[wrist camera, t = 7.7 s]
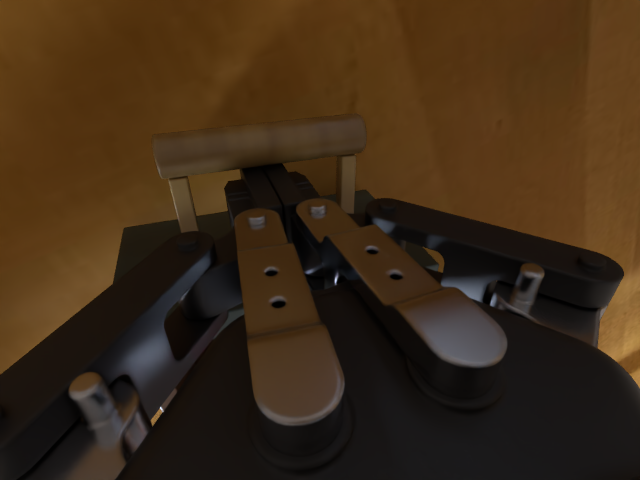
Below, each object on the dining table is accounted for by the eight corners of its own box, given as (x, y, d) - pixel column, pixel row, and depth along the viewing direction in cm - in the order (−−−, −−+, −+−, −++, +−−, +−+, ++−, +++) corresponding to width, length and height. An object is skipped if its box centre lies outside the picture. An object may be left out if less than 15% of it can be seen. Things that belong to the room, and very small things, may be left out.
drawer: (80, 104, 15) (24, 177, 9) (372, 80, 18) (467, 123, 12) (191, 425, 27) (196, 544, 22) (354, 377, 31) (398, 470, 25)
